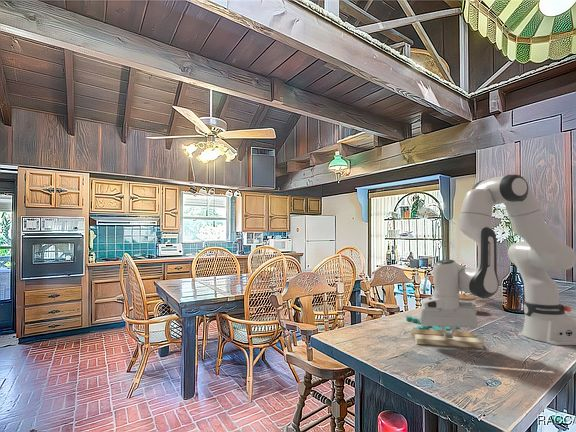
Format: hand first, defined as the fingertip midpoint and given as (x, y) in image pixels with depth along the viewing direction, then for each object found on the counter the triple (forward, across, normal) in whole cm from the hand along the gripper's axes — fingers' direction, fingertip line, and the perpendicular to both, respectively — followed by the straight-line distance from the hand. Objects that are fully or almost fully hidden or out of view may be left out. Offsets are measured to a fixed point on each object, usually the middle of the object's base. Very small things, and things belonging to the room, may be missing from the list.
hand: (448, 337), depth 121 cm
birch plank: (+3, 0, -1) cm, 3 cm away
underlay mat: (+3, 0, -4) cm, 6 cm away
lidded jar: (+4, -21, -56) cm, 60 cm away
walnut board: (+3, 0, -8) cm, 9 cm away
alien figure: (+4, +1, -24) cm, 24 cm away
